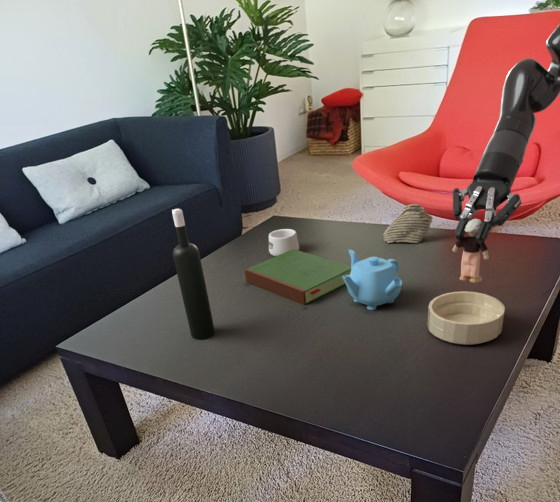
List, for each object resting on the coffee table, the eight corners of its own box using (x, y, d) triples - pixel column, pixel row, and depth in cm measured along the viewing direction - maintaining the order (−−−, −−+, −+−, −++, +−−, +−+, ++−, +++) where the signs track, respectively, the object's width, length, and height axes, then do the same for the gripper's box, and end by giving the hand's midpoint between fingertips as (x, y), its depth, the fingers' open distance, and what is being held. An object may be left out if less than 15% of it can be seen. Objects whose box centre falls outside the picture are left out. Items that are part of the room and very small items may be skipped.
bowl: (512, 323, 116) (516, 300, 112) (483, 354, 106) (486, 331, 103) (446, 307, 125) (448, 286, 122) (414, 335, 115) (415, 313, 112)
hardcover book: (246, 281, 149) (244, 269, 147) (294, 260, 159) (293, 249, 157) (306, 306, 133) (305, 292, 131) (356, 280, 142) (355, 267, 140)
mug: (304, 252, 164) (303, 233, 161) (277, 260, 161) (274, 241, 158) (287, 242, 173) (286, 224, 170) (261, 249, 170) (259, 231, 167)
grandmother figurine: (489, 277, 109) (497, 217, 102) (484, 285, 107) (492, 224, 99) (452, 272, 113) (457, 214, 106) (446, 279, 110) (452, 220, 103)
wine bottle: (217, 327, 128) (194, 204, 111) (210, 339, 123) (184, 213, 107) (195, 327, 129) (169, 206, 113) (187, 339, 125) (158, 214, 108)
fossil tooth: (384, 241, 168) (433, 236, 164) (383, 247, 163) (433, 242, 159) (381, 205, 162) (432, 198, 158) (380, 210, 157) (432, 204, 153)
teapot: (337, 311, 129) (335, 268, 122) (349, 287, 139) (348, 247, 133) (399, 315, 124) (401, 271, 117) (407, 290, 134) (409, 248, 128)
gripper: (462, 148, 105) (429, 226, 104) (535, 152, 97) (500, 237, 96) (470, 169, 111) (440, 243, 111) (540, 174, 103) (507, 254, 102)
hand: (468, 240), depth 103 cm, fingers closed on grandmother figurine, 3 cm apart
